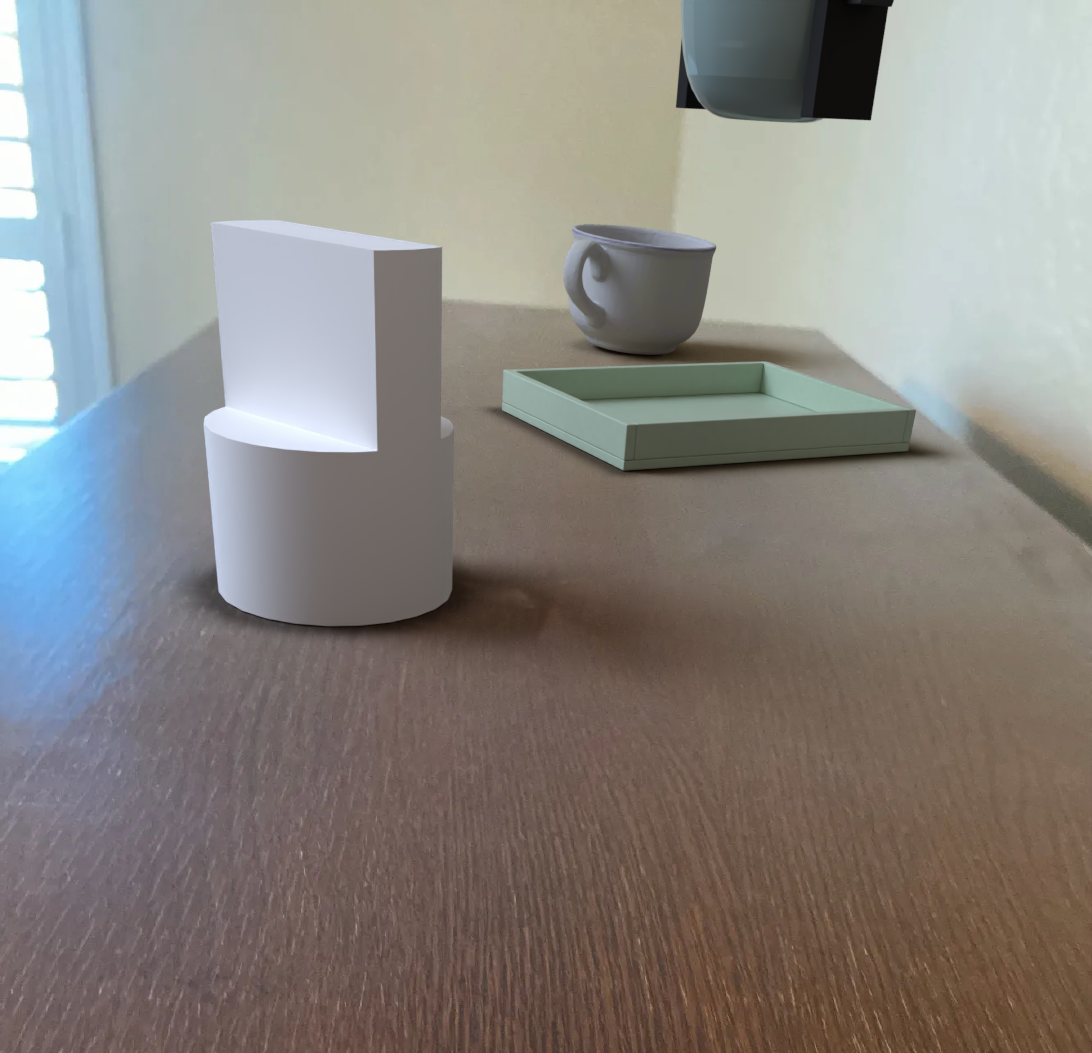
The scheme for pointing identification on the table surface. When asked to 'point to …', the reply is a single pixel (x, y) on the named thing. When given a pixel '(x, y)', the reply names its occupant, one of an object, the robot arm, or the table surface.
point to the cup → (748, 56)
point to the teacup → (636, 286)
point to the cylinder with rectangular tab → (329, 426)
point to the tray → (704, 413)
